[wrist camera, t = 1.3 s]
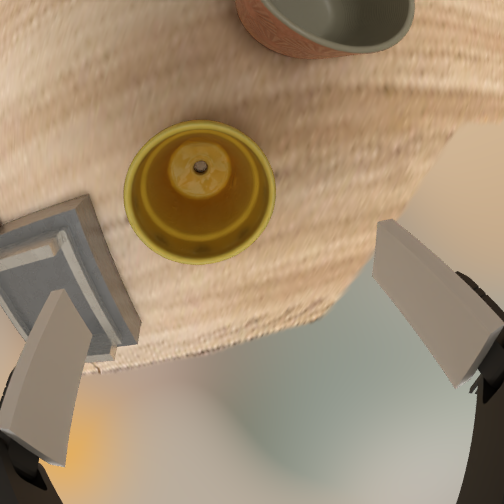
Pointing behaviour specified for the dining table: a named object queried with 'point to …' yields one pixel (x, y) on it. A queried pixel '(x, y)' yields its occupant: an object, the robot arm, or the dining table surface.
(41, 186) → the dining table surface
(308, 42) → the planter
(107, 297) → the grey square tray
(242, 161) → the plant pot
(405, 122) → the dining table surface
